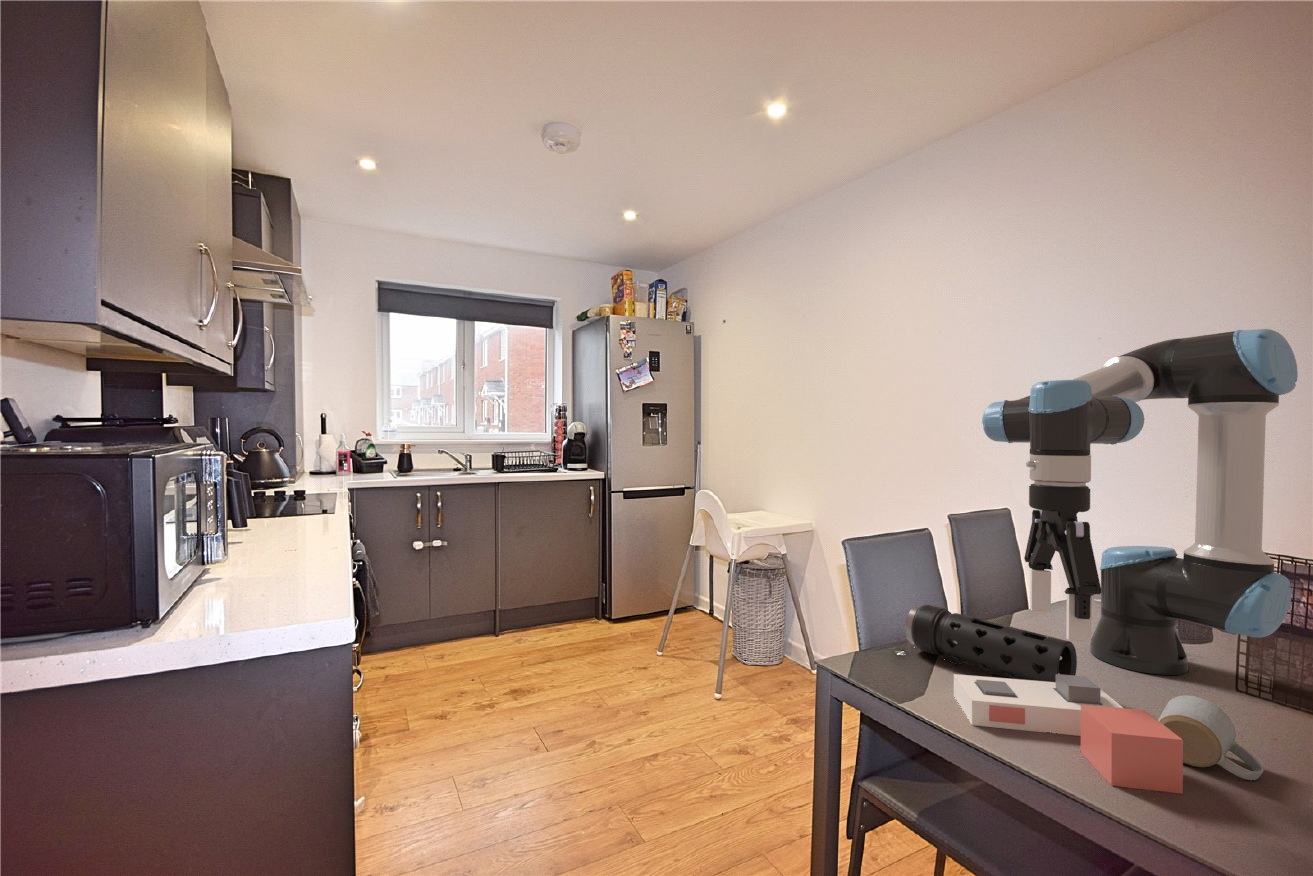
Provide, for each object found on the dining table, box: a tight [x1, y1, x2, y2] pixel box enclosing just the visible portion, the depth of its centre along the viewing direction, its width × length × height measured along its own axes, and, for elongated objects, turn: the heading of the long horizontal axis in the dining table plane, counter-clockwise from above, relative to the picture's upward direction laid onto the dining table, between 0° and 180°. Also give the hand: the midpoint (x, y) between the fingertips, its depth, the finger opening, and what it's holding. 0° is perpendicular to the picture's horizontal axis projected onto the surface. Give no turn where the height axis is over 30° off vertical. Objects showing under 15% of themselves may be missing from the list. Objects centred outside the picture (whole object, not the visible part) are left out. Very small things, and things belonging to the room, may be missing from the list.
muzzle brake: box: [904, 604, 1078, 682], centre depth 111 cm, size 10×28×10 cm, turn 36°
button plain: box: [1056, 673, 1101, 705], centre depth 92 cm, size 4×4×4 cm
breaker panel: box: [953, 673, 1124, 737], centre depth 93 cm, size 22×10×4 cm, turn 77°
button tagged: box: [976, 680, 1015, 697], centre depth 94 cm, size 4×4×4 cm
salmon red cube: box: [1080, 705, 1184, 795], centre depth 78 cm, size 8×8×7 cm
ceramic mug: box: [1157, 694, 1264, 781], centre depth 80 cm, size 11×8×8 cm
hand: (1058, 624), depth 85 cm, fingers open, 13 cm apart
